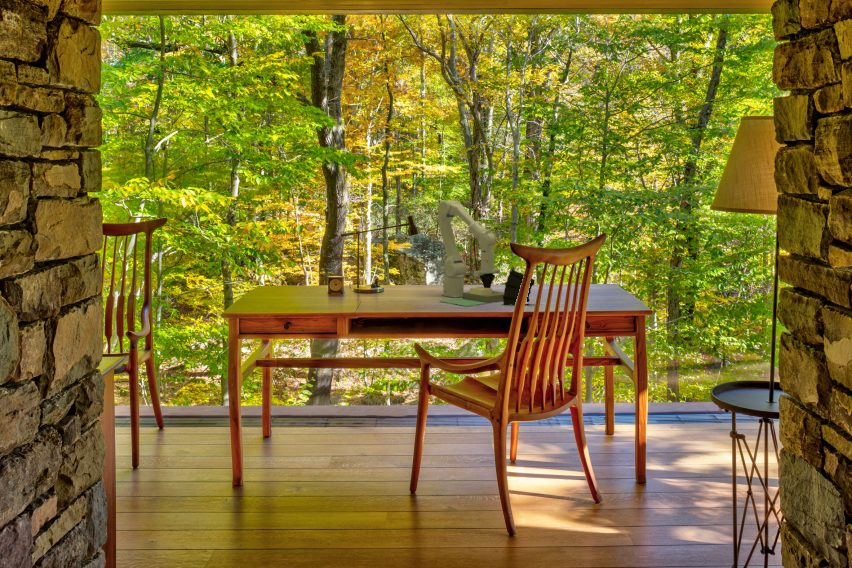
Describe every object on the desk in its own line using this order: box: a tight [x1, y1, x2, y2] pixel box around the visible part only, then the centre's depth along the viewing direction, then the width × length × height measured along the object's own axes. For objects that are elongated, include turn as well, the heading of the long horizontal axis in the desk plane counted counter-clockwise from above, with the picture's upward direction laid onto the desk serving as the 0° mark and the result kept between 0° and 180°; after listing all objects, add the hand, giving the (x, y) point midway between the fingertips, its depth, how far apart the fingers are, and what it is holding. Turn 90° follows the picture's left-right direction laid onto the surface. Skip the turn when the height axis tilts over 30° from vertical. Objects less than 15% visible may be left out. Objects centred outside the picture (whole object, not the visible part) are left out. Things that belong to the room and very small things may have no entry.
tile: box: [469, 286, 493, 295], centre depth 350 cm, size 8×6×2 cm
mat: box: [439, 297, 488, 308], centre depth 344 cm, size 18×12×1 cm, turn 40°
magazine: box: [502, 268, 536, 306], centre depth 338 cm, size 4×13×15 cm, turn 84°
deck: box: [462, 290, 504, 304], centre depth 352 cm, size 16×14×3 cm
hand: (487, 290), depth 352 cm, fingers closed
